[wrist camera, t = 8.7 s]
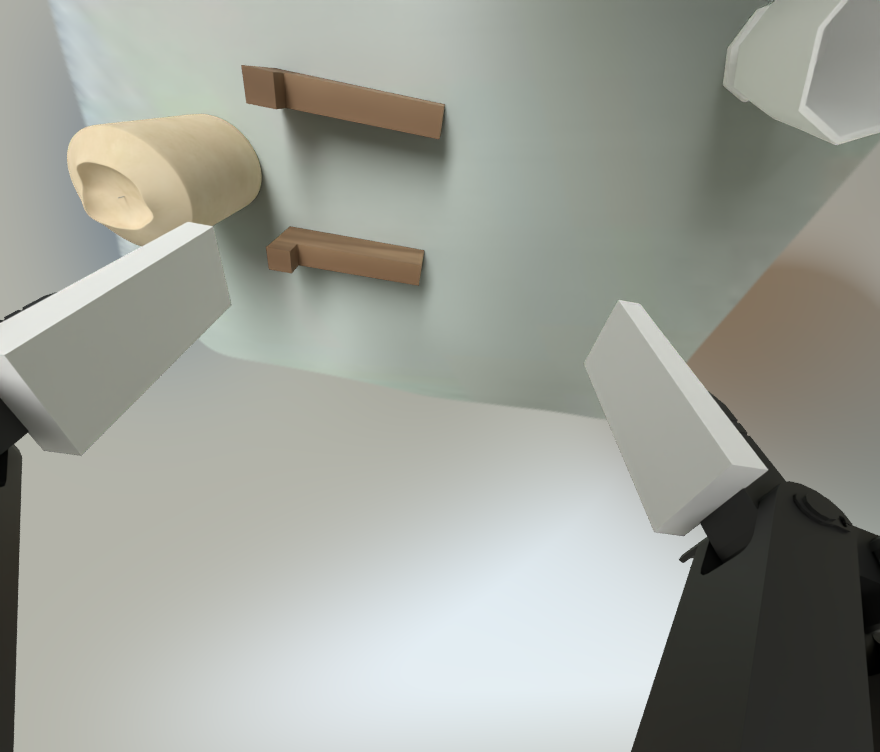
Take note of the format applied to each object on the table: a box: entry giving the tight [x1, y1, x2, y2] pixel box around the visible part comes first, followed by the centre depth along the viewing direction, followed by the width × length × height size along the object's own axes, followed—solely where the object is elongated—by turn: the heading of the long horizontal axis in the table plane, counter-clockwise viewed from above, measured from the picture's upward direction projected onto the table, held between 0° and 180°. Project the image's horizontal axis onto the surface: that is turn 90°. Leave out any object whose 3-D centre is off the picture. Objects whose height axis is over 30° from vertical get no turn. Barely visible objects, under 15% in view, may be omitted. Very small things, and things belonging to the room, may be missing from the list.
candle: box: [67, 114, 262, 246], centre depth 20 cm, size 6×6×10 cm
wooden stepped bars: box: [241, 65, 445, 286], centre depth 23 cm, size 10×10×4 cm
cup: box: [723, 0, 880, 145], centre depth 16 cm, size 7×10×8 cm
